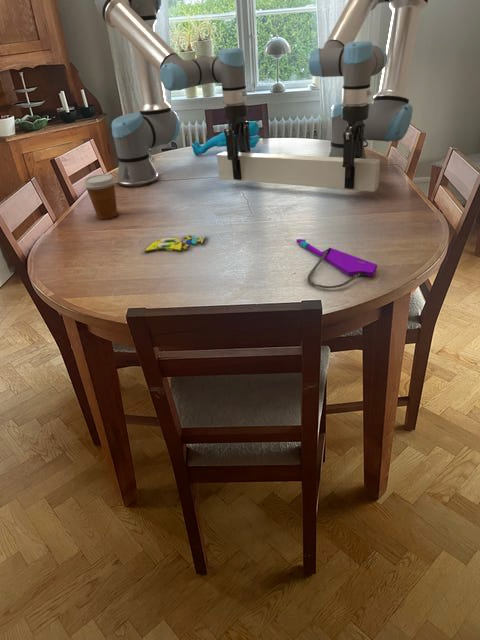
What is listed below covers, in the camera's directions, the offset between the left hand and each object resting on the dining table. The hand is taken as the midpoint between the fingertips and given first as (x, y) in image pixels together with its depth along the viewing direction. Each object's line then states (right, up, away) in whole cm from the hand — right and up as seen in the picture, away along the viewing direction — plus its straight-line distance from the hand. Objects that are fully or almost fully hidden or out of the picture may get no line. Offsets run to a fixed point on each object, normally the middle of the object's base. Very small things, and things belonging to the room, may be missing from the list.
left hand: (240, 176), depth 165 cm
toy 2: (-6, +23, +44) cm, 50 cm away
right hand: (+34, -8, -17) cm, 39 cm away
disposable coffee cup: (-43, -16, -11) cm, 47 cm away
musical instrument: (+19, -37, -53) cm, 67 cm away
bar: (+17, -4, -8) cm, 20 cm away
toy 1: (-18, -29, -35) cm, 49 cm away
